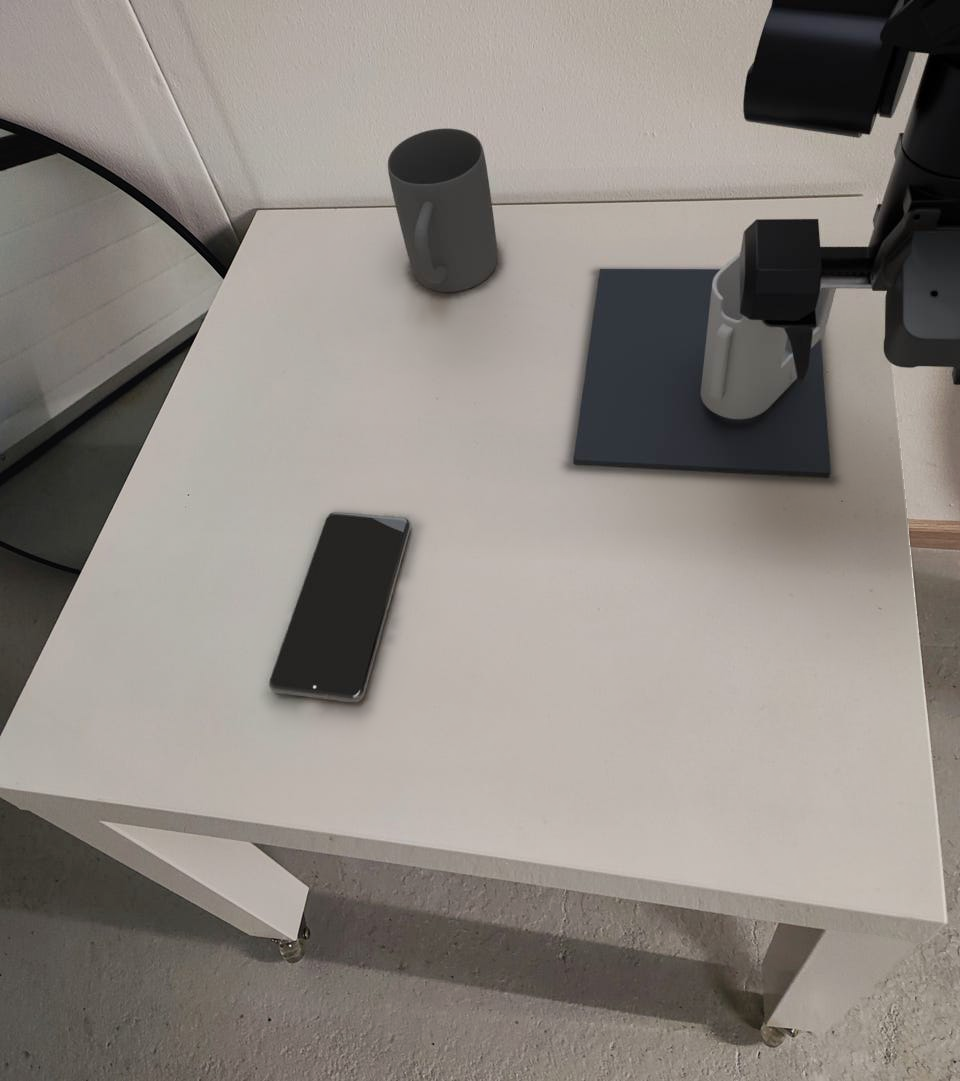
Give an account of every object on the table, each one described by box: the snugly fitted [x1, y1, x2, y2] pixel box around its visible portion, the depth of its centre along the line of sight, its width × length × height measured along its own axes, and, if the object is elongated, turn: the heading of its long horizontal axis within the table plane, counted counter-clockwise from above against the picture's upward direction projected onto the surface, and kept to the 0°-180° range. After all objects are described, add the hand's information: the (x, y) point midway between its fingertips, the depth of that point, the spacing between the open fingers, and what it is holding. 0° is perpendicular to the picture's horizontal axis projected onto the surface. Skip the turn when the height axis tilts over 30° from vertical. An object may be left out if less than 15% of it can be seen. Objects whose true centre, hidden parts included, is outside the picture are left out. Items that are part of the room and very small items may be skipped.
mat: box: [573, 268, 832, 478], centre depth 71 cm, size 20×24×1 cm
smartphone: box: [268, 511, 412, 703], centre depth 62 cm, size 7×1×16 cm
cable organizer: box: [701, 250, 837, 420], centre depth 64 cm, size 7×12×12 cm, turn 137°
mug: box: [387, 127, 498, 293], centre depth 77 cm, size 14×9×12 cm
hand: (876, 377), depth 51 cm, fingers open, 9 cm apart
